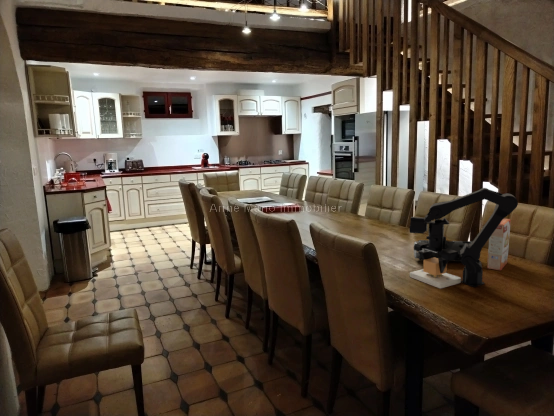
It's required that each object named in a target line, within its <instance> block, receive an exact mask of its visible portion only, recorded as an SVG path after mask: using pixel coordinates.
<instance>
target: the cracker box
mask: <svg viewBox="0 0 554 416" xmlns="http://www.w3.org/2000/svg"><path fill="white" fill-rule="evenodd" d="M511 222H512V220H511V219H510V218H504V219H503V220H502V221H501V223H500V224H499V225H498V227H497V228H496V230H495V231H494V232H493V234H492V235H491V237H490V238H489V239H488V251H487V266H486V267H487V269H488V270H489V269H491V270H495V271H502V270H503V269H504V267H505V266H506V265H507V263H508V260H509V259H508V257H509V256H508V255H509V247H510V245H509V244H510V235H511V234H510V231H511V224H512V223H511Z"/></svg>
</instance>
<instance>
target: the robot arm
mask: <svg viewBox="0 0 554 416" xmlns="http://www.w3.org/2000/svg"><path fill="white" fill-rule="evenodd" d="M484 200H485V201H488V202H491V203H492V204H495V207H494V210H493V211H492V214H490V217H489V218H488V220H487V221H486V222H485V224H484V225H483V226H482V228H481V229H480V230H479V232H478V234H477V235H476V236H475V238H474V239H473V240H472V241H473V242H472V243H471V244H469V245H468V244H467V243H465V245H464V247H463V249H461V250H460V260H461V262H460V263H461V264H462V265H463V266H464V267H463V270H462V279H461V283H462V284H465V285H468V286H470V287H473V288H475V287H479V286H482V285H485V284H486V282H484V281H483V277H484V276H483V273H484V271H483V266H482V261H481V260H480V258H479V255H480V256H481V252H482V249H483V247H485V245H486V244H487V242H489V238H490V237H491V235H492V234H493V232H494V231H495V230H496V228H497V227H498V225H499V224H500V223H501V221H502V220H503V219H506V217H507V216H509V215H510V214H512V213H513V212H514V211H515V210H516V208H517V207H518V205H519V201H518V199H517V198H516V197H515V196H514V195H513V194H511V193H507V192H506V193H501V192H498V191H494V190H491V189H489V188H487V187H483V188H480V189H479V190H476V191H473V192H471V193H468V194H465V195H462V196H459V197H457V198H454V199H451V200H448V201H447V200H446V201H441V202H436V203H433V204H432V205H430V207H429V209H428V212H427V214H425V216H424V217H417V216H411V217H410V221H409V222H410V223H409V233H410V234H423V235H424V234H425V233H426V232H428V235H427V236H426V237H425V238H426V239H425V240H428V243H425V242H420V243H416V244H415V245H414V244H413V251H414V250H416V251H419V252H418V253H419V254H420V255H421V257H422V259H423V260H422V261H424V260H425V259H430V258H431V254H432V252H434V253H437V254H441V258H438V261H439V268H440V273H443V271H444V269H445V267H446V265H447V266H448V263H449V262H450V261H449V260H454V259H458V258H459V252H458V251H455V250H451V249H452V248H453V244H454V242H451V241H452V240H447V236H444V234H445V231H444V230H445V226H448V225H449V224H450V221H449V220H448V219H447V218H446V216H447V215H449V214H451V213H452V212H454V211H456V210H458V209H462V208H464V207H467V206H470V205H473V204H475V203H478V202H481V201H484ZM447 248H450V250H446V251H444V250H443V249H447ZM478 258H479V259H478Z"/></svg>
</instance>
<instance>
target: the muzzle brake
mask: <svg viewBox="0 0 554 416" xmlns="http://www.w3.org/2000/svg"><path fill="white" fill-rule="evenodd" d="M428 240H429V239H420V240H418V241H414V242H413V246H414V245H415V244H416V243H420V242H425V243H428ZM450 241H451V242H454V244H453V248H452V249H451V250H455V251H458V252H459V258H458V259H454V260H449V261H448V262H457V263H458V262H459V263H461V260H460V250H461V249H463V247H464V245H465V243H467V244H468V245H469V244H471V243H472V242H473V241H474V240H471V241H470V240H469V241H467V240H465V241H464V240H450ZM443 250H444V251H446V250H450V248H447V249H443ZM418 252H419V251H416V250H414V249H413V257H414V259H418V260H420V261H424V260H423V259H422V257H421V255H420V254H419V253H418ZM434 257H435V258H441V254H437V253H434V252H432V254H431V258H434ZM480 257H481V254H480V255H479V258H478V259H479V260H480V259H481V258H480Z"/></svg>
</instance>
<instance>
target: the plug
mask: <svg viewBox="0 0 554 416" xmlns="http://www.w3.org/2000/svg"><path fill="white" fill-rule="evenodd" d="M422 269H423V271H424V272H427V273H430V274H431V276H433V277H434V278H436V275H439V277H441V276H442V274H444V273H448V271H447V270H448V264H447V265H446V267H445V269H444V271H443V273H440V268H439V261H438V258H435V257H434V258H430V259H425V260H423V268H422Z"/></svg>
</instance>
